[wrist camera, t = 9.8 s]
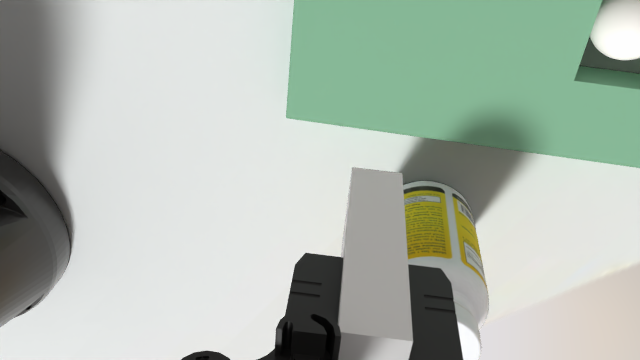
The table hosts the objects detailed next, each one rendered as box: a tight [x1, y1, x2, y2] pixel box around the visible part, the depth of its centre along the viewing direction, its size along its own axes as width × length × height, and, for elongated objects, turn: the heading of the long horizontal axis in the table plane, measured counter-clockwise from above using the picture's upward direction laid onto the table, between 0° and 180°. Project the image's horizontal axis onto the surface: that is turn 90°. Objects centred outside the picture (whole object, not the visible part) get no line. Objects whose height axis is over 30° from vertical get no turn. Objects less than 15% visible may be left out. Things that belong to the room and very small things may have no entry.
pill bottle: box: [403, 181, 489, 360], centre depth 32 cm, size 6×6×11 cm
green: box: [286, 0, 640, 168], centre depth 28 cm, size 22×14×2 cm, turn 84°
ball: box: [590, 0, 640, 60], centre depth 27 cm, size 4×4×4 cm
